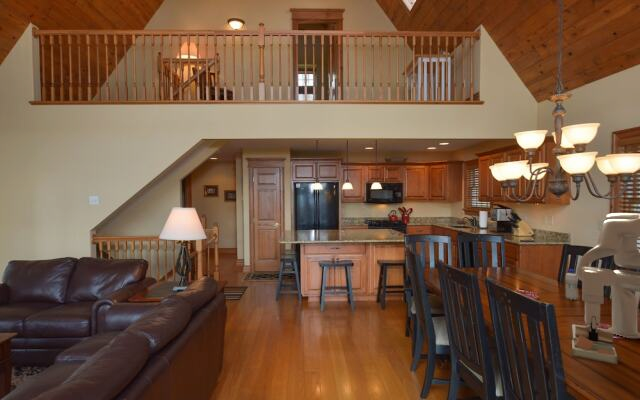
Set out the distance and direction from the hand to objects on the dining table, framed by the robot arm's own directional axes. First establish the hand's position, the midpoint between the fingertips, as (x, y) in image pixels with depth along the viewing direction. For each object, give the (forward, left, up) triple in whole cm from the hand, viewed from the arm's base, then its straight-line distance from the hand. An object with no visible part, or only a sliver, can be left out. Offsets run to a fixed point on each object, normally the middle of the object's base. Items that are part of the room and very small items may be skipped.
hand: (592, 339), depth 157 cm
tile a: (+3, +6, -3) cm, 7 cm away
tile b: (+3, -3, -2) cm, 4 cm away
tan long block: (0, 0, 0) cm, 0 cm away
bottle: (-80, -36, -6) cm, 88 cm away
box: (+3, +1, -6) cm, 7 cm away
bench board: (-11, -4, -6) cm, 13 cm away
